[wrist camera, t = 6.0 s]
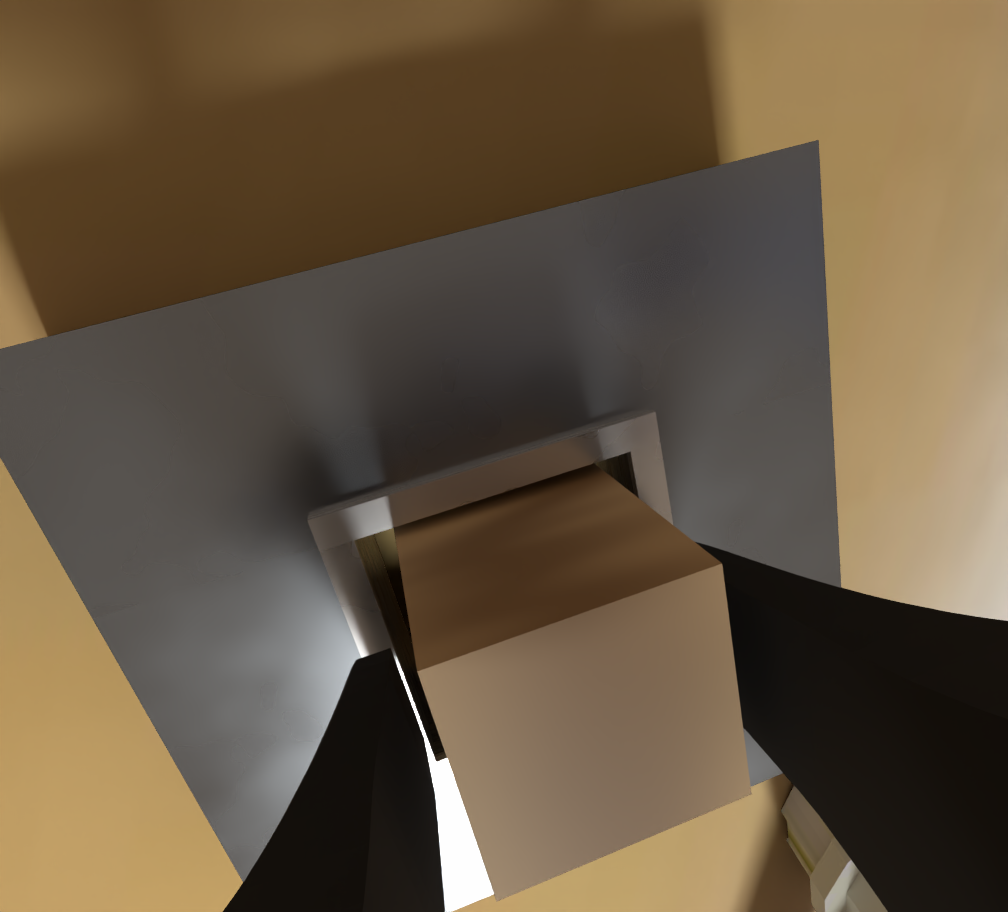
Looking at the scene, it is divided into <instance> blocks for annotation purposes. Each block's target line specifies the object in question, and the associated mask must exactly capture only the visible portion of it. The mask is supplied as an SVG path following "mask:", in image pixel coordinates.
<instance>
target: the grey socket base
mask: <svg viewBox="0 0 1008 912" xmlns="http://www.w3.org/2000/svg"><path fill="white" fill-rule="evenodd" d="M0 458H1V459H2V461H3V463H4V465H5V466H6V468H7V470H8V472H9V473H10V475H11V477H12V479H13V480H14V482H15V484H16V486H17V487H18V489H19V491H20V493H21V494H22V496H23V498H24V500H25V501H26V503H27V505H28V507H29V508H30V510H31V512H32V514H33V515H34V517H35V519H36V521H37V522H38V524H39V526H40V528H41V529H42V531H43V533H44V535H45V536H46V538H47V540H48V542H49V543H50V545H51V547H52V549H53V550H54V552H55V554H56V556H57V557H58V559H59V561H60V563H61V564H62V566H63V568H64V570H65V571H66V573H67V575H68V577H69V578H70V580H71V582H72V584H73V585H74V587H75V589H76V591H77V592H78V594H79V596H80V598H81V599H82V601H83V603H84V605H85V606H86V608H87V610H88V612H89V613H90V615H91V617H92V619H93V620H94V622H95V624H96V626H97V627H98V629H99V631H100V633H101V634H102V636H103V638H104V640H105V641H106V643H107V645H108V647H109V648H110V650H111V652H112V654H113V655H114V657H115V659H116V661H117V662H118V664H119V666H120V668H121V669H122V671H123V673H124V675H125V676H126V678H127V680H128V682H129V683H130V685H131V687H132V689H133V690H134V692H135V694H136V696H137V697H138V699H139V701H140V703H141V704H142V706H143V708H144V710H145V711H146V713H147V715H148V717H149V718H150V720H151V722H152V724H153V725H154V727H155V729H156V731H157V732H158V734H159V736H160V738H161V739H162V741H163V743H164V744H165V746H166V748H167V750H168V751H169V753H170V755H171V757H172V758H173V760H174V762H175V764H176V765H177V767H178V769H179V771H180V772H181V774H182V776H183V778H184V779H185V781H186V783H187V785H188V786H189V788H190V790H191V792H192V793H193V795H194V797H195V799H196V800H197V802H198V804H199V806H200V807H201V809H202V811H203V813H204V814H205V816H206V818H207V820H208V821H209V823H210V825H211V827H212V828H213V830H214V832H215V834H216V835H217V837H218V839H219V841H220V842H221V844H222V846H223V848H224V849H225V851H226V853H227V855H228V856H229V858H230V860H231V862H232V863H233V865H234V867H235V869H236V870H237V872H238V874H239V876H240V877H241V879H242V881H243V882H244V881H245V879H246V877H247V876H248V874H249V873H250V871H251V869H252V868H253V866H254V865H255V863H256V861H257V860H258V858H259V856H260V855H261V853H262V852H263V850H264V848H265V847H266V845H267V843H268V842H269V840H270V838H271V836H272V835H273V833H274V831H275V829H276V828H277V826H278V824H279V822H280V821H281V819H282V817H283V815H284V814H285V812H286V810H287V808H288V806H289V804H290V802H291V800H292V798H293V796H294V794H295V792H296V791H297V789H298V787H299V785H300V783H301V781H302V779H303V777H304V775H305V773H306V771H307V769H308V767H309V765H310V763H311V761H312V759H313V757H314V755H315V753H316V750H317V748H318V746H319V744H320V742H321V739H322V737H323V735H324V733H325V731H326V728H327V726H328V724H329V722H330V719H331V717H332V715H333V712H334V710H335V708H336V705H337V703H338V700H339V698H340V695H341V693H342V690H343V688H344V685H345V683H346V680H347V678H348V675H349V673H350V670H351V668H352V666H353V664H354V662H355V661H356V660H357V659H360V658H363V657H366V656H368V655H371V654H374V653H377V652H380V651H383V650H386V649H388V648H391V650H392V653H393V655H394V658H395V661H396V663H397V666H398V669H399V671H400V674H401V677H402V680H403V682H404V685H405V688H406V690H407V693H408V696H409V698H410V701H411V704H412V706H413V709H414V712H415V714H416V717H417V720H418V723H419V725H420V728H421V731H422V733H423V736H424V739H425V744H426V749H427V754H428V759H429V764H430V769H431V774H432V780H433V785H434V790H435V796H436V807H437V818H438V830H439V841H440V854H441V866H442V878H443V890H444V903H445V912H452V911H454V910H456V909H459V908H461V907H464V906H466V905H468V904H471V903H473V902H476V901H478V900H480V899H483V898H485V897H488V896H490V895H492V894H494V892H493V890H492V887H491V884H490V881H489V878H488V875H487V872H486V869H485V866H484V864H483V861H482V858H481V855H480V852H479V849H478V846H477V843H476V840H475V837H474V835H473V832H472V829H471V826H470V823H469V820H468V817H467V814H466V811H465V808H464V806H463V803H462V800H461V797H460V794H459V791H458V788H457V785H456V782H455V780H454V777H453V774H452V771H451V768H450V765H449V762H448V759H447V756H446V753H445V751H444V748H443V745H442V742H441V739H440V736H439V733H438V730H437V727H436V724H435V722H434V719H433V716H432V713H431V710H430V707H429V704H428V701H427V698H426V696H425V693H424V690H423V687H422V684H421V681H420V678H419V675H418V672H417V667H416V661H415V655H414V649H413V644H412V641H411V638H410V635H409V632H408V630H407V627H406V624H405V621H404V618H403V616H402V613H401V610H400V607H399V604H398V601H397V599H396V596H395V593H394V590H393V587H392V585H391V582H390V579H389V576H388V573H387V571H386V568H385V565H384V562H383V559H382V556H381V554H380V551H379V548H378V545H377V542H376V540H375V537H374V534H375V533H378V532H382V531H385V530H388V529H391V528H394V527H397V526H400V525H403V524H406V523H410V522H413V521H416V520H419V519H422V518H425V517H428V516H431V515H434V514H438V513H441V512H444V511H447V510H450V509H453V508H456V507H459V506H462V505H466V504H469V503H472V502H475V501H478V500H481V499H484V498H487V497H490V496H494V495H497V494H500V493H503V492H506V491H509V490H512V489H515V488H519V487H522V486H525V485H528V484H531V483H534V482H537V481H540V480H543V479H547V478H550V477H553V476H556V475H559V474H562V473H565V472H568V471H571V470H575V469H578V468H581V467H584V466H587V465H590V464H593V463H594V464H596V465H597V466H598V467H599V468H601V469H602V470H603V471H605V472H606V473H607V474H608V475H610V476H611V477H612V478H614V479H615V480H616V481H617V482H619V483H620V484H621V485H622V486H624V487H625V488H626V489H628V490H629V491H630V492H631V493H633V494H634V495H635V496H637V497H638V498H639V499H640V500H642V501H643V502H644V503H645V504H647V505H648V506H649V507H651V508H652V509H653V510H654V511H656V512H657V513H658V514H660V515H661V516H662V517H663V518H665V519H666V520H667V521H668V522H670V523H671V524H672V525H674V526H675V527H676V528H677V529H679V530H680V531H681V532H683V533H684V534H685V535H686V536H688V537H689V538H690V539H691V540H693V541H694V542H698V543H702V544H705V545H709V546H712V547H715V548H718V549H721V550H724V551H727V552H730V553H733V554H736V555H739V556H742V557H745V558H748V559H751V560H754V561H757V562H760V563H763V564H766V565H769V566H772V567H775V568H778V569H781V570H784V571H787V572H790V573H793V574H796V575H800V576H803V577H806V578H809V579H813V580H816V581H819V582H823V583H826V584H829V585H833V586H837V587H840V588H841V575H840V556H839V536H838V516H837V496H836V476H835V456H834V437H833V417H832V397H831V377H830V357H829V337H828V318H827V298H826V278H825V258H824V238H823V218H822V199H821V179H820V159H819V140H816V141H813V142H809V143H805V144H801V145H797V146H793V147H789V148H785V149H781V150H777V151H773V152H769V153H766V154H762V155H758V156H754V157H750V158H746V159H742V160H738V161H734V162H730V163H726V164H723V165H719V166H715V167H711V168H707V169H703V170H699V171H695V172H691V173H687V174H683V175H679V176H676V177H672V178H668V179H664V180H660V181H656V182H652V183H648V184H644V185H640V186H636V187H632V188H629V189H625V190H621V191H617V192H613V193H609V194H605V195H601V196H597V197H593V198H589V199H585V200H582V201H578V202H574V203H570V204H566V205H562V206H558V207H554V208H550V209H546V210H542V211H538V212H535V213H531V214H527V215H523V216H519V217H515V218H511V219H507V220H503V221H499V222H495V223H492V224H488V225H484V226H480V227H476V228H472V229H468V230H464V231H460V232H456V233H452V234H448V235H445V236H441V237H437V238H433V239H429V240H425V241H421V242H417V243H413V244H409V245H405V246H401V247H398V248H394V249H390V250H386V251H382V252H378V253H374V254H370V255H366V256H362V257H358V258H354V259H351V260H347V261H343V262H339V263H335V264H331V265H327V266H323V267H319V268H315V269H311V270H308V271H304V272H300V273H296V274H292V275H288V276H284V277H280V278H276V279H272V280H268V281H264V282H261V283H257V284H253V285H249V286H245V287H241V288H237V289H233V290H229V291H225V292H221V293H217V294H214V295H210V296H206V297H202V298H198V299H194V300H190V301H186V302H182V303H178V304H174V305H170V306H167V307H163V308H159V309H155V310H151V311H147V312H143V313H139V314H135V315H131V316H127V317H123V318H120V319H116V320H112V321H108V322H104V323H100V324H96V325H92V326H88V327H84V328H80V329H77V330H73V331H69V332H65V333H61V334H57V335H53V336H49V337H45V338H41V339H37V340H33V341H30V342H26V343H22V344H18V345H14V346H10V347H6V348H2V349H0ZM743 731H744V739H745V747H746V755H747V762H748V770H749V778H750V786H753V785H756V784H758V783H761V782H763V781H765V780H768V779H770V778H773V777H775V776H777V775H780V774H782V773H783V772H782V771H781V770H780V769H779V768H778V767H777V765H776V764H775V763H774V762H773V761H772V760H771V759H770V757H769V756H768V755H767V754H766V753H765V752H764V751H763V749H762V748H761V747H760V746H759V745H758V744H757V743H756V741H755V740H754V739H753V738H752V737H751V736H750V735H749V733H748V732H747V731H746V730H745V729H744V728H743Z"/></svg>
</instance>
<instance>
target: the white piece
mask: <svg viewBox="0 0 1008 912" xmlns="http://www.w3.org/2000/svg"><path fill="white" fill-rule="evenodd" d="M781 812H782V814H783V815H784V817H785V818H786V820H787V827H788V838H787V839H786V840H787V842H788V844H789V845H790V847H791V848H792V850H793V851H794V853H795V855H796V856H797V858H798V859H799V861H800V863H801V864H802V866H803V867H804V869H805V871H806V872H807V874H808V875H809V877H810V887H811V904H812V905H813V907H814V909H815V910H816V912H888V911H887V910H886V908H885V907H884V906H883V904H882V903H881V901H880V900H879V898H878V897H877V895H876V894H875V893H874V891H873V890H872V888H871V887H870V885H869V884H868V883H867V881H866V880H865V878H864V877H863V875H862V874H861V873H860V871H859V870H858V869H857V867H856V866H855V864H854V863H853V862H852V860H851V859H850V858H849V856H848V855H847V853H846V852H845V851H844V849H843V848H842V847H841V845H840V844H839V842H838V841H837V840H836V838H835V837H834V836H833V834H832V833H831V831H830V830H829V829H828V827H827V826H826V825H825V823H824V822H823V820H822V819H821V818H820V816H819V815H818V814H817V813H816V811H815V810H814V809H813V808H812V806H811V805H810V804H809V803H808V802H807V800H806V799H805V798H804V797H803V795H802V794H801V793H800V792H799V790H798V789H797V788H796V787H795V786H794V787H793V789H792V791H791V792H790V794H789V796H788V798H787V800H786V802H785V804H784V806H783V808H782V810H781Z"/></svg>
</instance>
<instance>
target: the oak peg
mask: <svg viewBox="0 0 1008 912" xmlns="http://www.w3.org/2000/svg"><path fill="white" fill-rule="evenodd" d="M394 532H395V538H396V544H397V550H398V557H399V563H400V569H401V575H402V581H403V587H404V593H405V600H406V606H407V612H408V618H409V624H410V630H411V636H412V643H413V649H414V655H415V661H416V667H417V672H418V675H419V678H420V681H421V684H422V687H423V690H424V693H425V696H426V698H427V701H428V704H429V707H430V710H431V713H432V716H433V719H434V722H435V724H436V727H437V730H438V733H439V736H440V739H441V742H442V745H443V748H444V751H445V753H446V756H447V759H448V762H449V765H450V768H451V771H452V774H453V777H454V780H455V782H456V785H457V788H458V791H459V794H460V797H461V800H462V803H463V806H464V808H465V811H466V814H467V817H468V820H469V823H470V826H471V829H472V832H473V835H474V837H475V840H476V843H477V846H478V849H479V852H480V855H481V858H482V861H483V864H484V866H485V869H486V872H487V875H488V878H489V881H490V884H491V887H492V890H493V892H494V895H495V898H496V901H499V900H501V899H504V898H506V897H509V896H511V895H513V894H516V893H518V892H520V891H523V890H525V889H528V888H530V887H532V886H535V885H537V884H539V883H542V882H544V881H547V880H549V879H551V878H554V877H556V876H558V875H561V874H563V873H566V872H568V871H570V870H573V869H575V868H577V867H580V866H582V865H585V864H587V863H589V862H592V861H594V860H596V859H599V858H601V857H604V856H606V855H608V854H611V853H613V852H615V851H618V850H620V849H623V848H625V847H627V846H630V845H632V844H634V843H637V842H639V841H641V840H644V839H646V838H649V837H651V836H653V835H656V834H658V833H660V832H663V831H665V830H668V829H670V828H672V827H675V826H677V825H679V824H682V823H684V822H687V821H689V820H691V819H694V818H696V817H698V816H701V815H703V814H706V813H708V812H710V811H713V810H715V809H717V808H720V807H722V806H725V805H727V804H729V803H732V802H734V801H736V800H739V799H741V798H744V797H746V796H748V795H751V786H750V778H749V770H748V762H747V755H746V747H745V739H744V731H743V723H742V715H741V707H740V700H739V692H738V684H737V676H736V668H735V660H734V653H733V645H732V637H731V629H730V621H729V613H728V605H727V598H726V590H725V582H724V574H723V566H722V563H721V562H720V561H718V560H717V559H716V558H714V557H713V556H712V555H711V554H709V553H708V552H707V551H705V550H704V549H703V548H702V547H700V546H699V545H698V544H697V543H695V542H694V541H693V540H691V539H690V538H689V537H688V536H686V535H685V534H684V533H683V532H681V531H680V530H679V529H677V528H676V527H675V526H674V525H672V524H671V523H670V522H668V521H667V520H666V519H665V518H663V517H662V516H661V515H660V514H658V513H657V512H656V511H654V510H653V509H652V508H651V507H649V506H648V505H647V504H645V503H644V502H643V501H642V500H640V499H639V498H638V497H637V496H635V495H634V494H633V493H631V492H630V491H629V490H628V489H626V488H625V487H624V486H622V485H621V484H620V483H619V482H617V481H616V480H615V479H614V478H612V477H611V476H610V475H608V474H607V473H606V472H605V471H603V470H602V469H601V468H599V467H598V466H597V465H596V464H594V463H593V464H590V465H587V466H584V467H581V468H578V469H575V470H571V471H568V472H565V473H562V474H559V475H556V476H553V477H550V478H547V479H543V480H540V481H537V482H534V483H531V484H528V485H525V486H522V487H519V488H515V489H512V490H509V491H506V492H503V493H500V494H497V495H494V496H490V497H487V498H484V499H481V500H478V501H475V502H472V503H469V504H466V505H462V506H459V507H456V508H453V509H450V510H447V511H444V512H441V513H438V514H434V515H431V516H428V517H425V518H422V519H419V520H416V521H413V522H410V523H406V524H403V525H400V526H397V527H394Z"/></svg>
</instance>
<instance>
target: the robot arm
mask: <svg viewBox="0 0 1008 912" xmlns="http://www.w3.org/2000/svg"><path fill="white" fill-rule="evenodd" d="M695 543H697V544H698V545H699V546H700V547H702V548H703V549H704V550H705V551H707V552H708V553H709V554H711V555H712V556H713V557H714V558H716V559H717V560H718V561H720V562H721V563H722V566H723V574H724V582H725V590H726V598H727V605H728V613H729V621H730V629H731V637H732V645H733V653H734V660H735V668H736V676H737V684H738V692H739V700H740V707H741V715H742V723H743V728H744V729H745V730H746V731H747V732H748V733H749V735H750V736H751V737H752V738H753V739H754V740H755V741H756V743H757V744H758V745H759V746H760V747H761V748H762V749H763V751H764V752H765V753H766V754H767V755H768V756H769V757H770V759H771V760H772V761H773V762H774V763H775V764H776V765H777V767H778V768H779V769H780V770H781V771H782V772H783V773H784V774H785V776H786V777H787V778H788V779H789V780H790V781H791V782H792V784H793V785H794V786H795V787H796V788H797V789H798V790H799V792H800V793H801V794H802V795H803V797H804V798H805V799H806V800H807V802H808V803H809V804H810V805H811V806H812V808H813V809H814V810H815V811H816V813H817V814H818V815H819V816H820V818H821V819H822V820H823V822H824V823H825V825H826V826H827V827H828V829H829V830H830V831H831V833H832V834H833V836H834V837H835V838H836V840H837V841H838V842H839V844H840V845H841V847H842V848H843V849H844V851H845V852H846V853H847V855H848V856H849V858H850V859H851V860H852V862H853V863H854V864H855V866H856V867H857V869H858V870H859V871H860V873H861V874H862V875H863V877H864V878H865V880H866V881H867V883H868V884H869V885H870V887H871V888H872V890H873V891H874V893H875V894H876V895H877V897H878V898H879V900H880V901H881V903H882V904H883V906H884V907H885V908H886V910H887V911H888V912H1008V621H1003V620H996V619H989V618H981V617H975V616H969V615H963V614H957V613H951V612H945V611H940V610H935V609H930V608H925V607H920V606H915V605H910V604H905V603H900V602H896V601H891V600H887V599H883V598H878V597H874V596H870V595H866V594H863V593H859V592H855V591H852V590H848V589H844V588H840V587H837V586H833V585H829V584H826V583H823V582H819V581H816V580H813V579H809V578H806V577H803V576H800V575H796V574H793V573H790V572H787V571H784V570H781V569H778V568H775V567H772V566H769V565H766V564H763V563H760V562H757V561H754V560H751V559H748V558H745V557H742V556H739V555H736V554H733V553H730V552H727V551H724V550H721V549H718V548H715V547H712V546H709V545H705V544H702V543H698V542H695ZM223 912H445V903H444V890H443V878H442V866H441V854H440V841H439V830H438V818H437V807H436V796H435V790H434V785H433V780H432V774H431V769H430V764H429V759H428V754H427V749H426V744H425V739H424V736H423V733H422V731H421V728H420V725H419V723H418V720H417V717H416V714H415V712H414V709H413V706H412V704H411V701H410V698H409V696H408V693H407V690H406V688H405V685H404V682H403V680H402V677H401V674H400V671H399V669H398V666H397V663H396V661H395V658H394V655H393V653H392V650H391V648H388V649H386V650H383V651H380V652H377V653H374V654H371V655H368V656H366V657H363V658H360V659H357V660H356V661H355V662H354V664H353V666H352V668H351V670H350V673H349V675H348V678H347V680H346V683H345V685H344V688H343V690H342V693H341V695H340V698H339V700H338V703H337V705H336V708H335V710H334V712H333V715H332V717H331V719H330V722H329V724H328V726H327V728H326V731H325V733H324V735H323V737H322V739H321V742H320V744H319V746H318V748H317V750H316V753H315V755H314V757H313V759H312V761H311V763H310V765H309V767H308V769H307V771H306V773H305V775H304V777H303V779H302V781H301V783H300V785H299V787H298V789H297V791H296V792H295V794H294V796H293V798H292V800H291V802H290V804H289V806H288V808H287V810H286V812H285V814H284V815H283V817H282V819H281V821H280V822H279V824H278V826H277V828H276V829H275V831H274V833H273V835H272V836H271V838H270V840H269V842H268V843H267V845H266V847H265V848H264V850H263V852H262V853H261V855H260V856H259V858H258V860H257V861H256V863H255V865H254V866H253V868H252V869H251V871H250V873H249V874H248V876H247V877H246V879H245V881H244V882H243V884H242V885H241V887H240V888H239V890H238V891H237V893H236V894H235V895H234V897H233V898H232V900H231V901H230V902H229V904H228V905H227V907H226V908H225V909H224V911H223Z"/></svg>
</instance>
